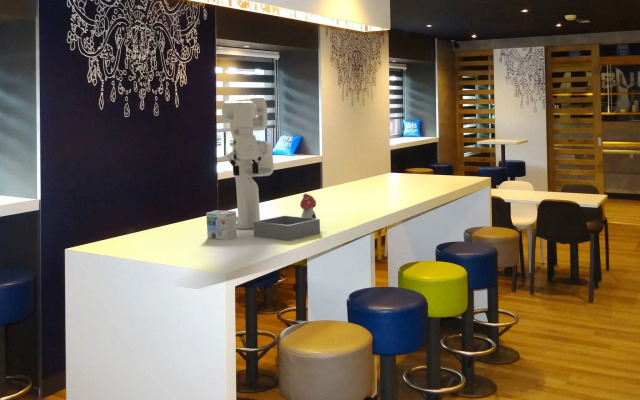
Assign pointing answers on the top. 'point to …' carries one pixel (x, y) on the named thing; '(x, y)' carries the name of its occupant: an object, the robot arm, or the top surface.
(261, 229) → the tote
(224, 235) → the light bulb box
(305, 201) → the decorative ornament
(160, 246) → the top surface
